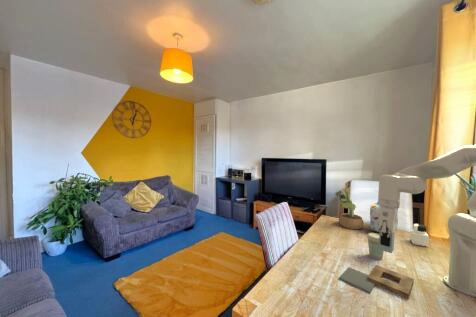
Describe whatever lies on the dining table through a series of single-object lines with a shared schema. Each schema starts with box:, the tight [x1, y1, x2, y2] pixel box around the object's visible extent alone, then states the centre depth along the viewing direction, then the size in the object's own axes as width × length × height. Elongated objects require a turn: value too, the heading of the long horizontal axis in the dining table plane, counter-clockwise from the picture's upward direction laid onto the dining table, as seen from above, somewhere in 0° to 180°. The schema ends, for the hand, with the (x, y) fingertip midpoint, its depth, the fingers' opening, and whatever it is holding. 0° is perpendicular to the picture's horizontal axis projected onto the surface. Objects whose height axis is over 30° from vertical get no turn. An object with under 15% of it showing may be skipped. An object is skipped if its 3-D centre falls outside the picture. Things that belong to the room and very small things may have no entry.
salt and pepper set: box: [410, 223, 430, 248], centre depth 123 cm, size 7×7×12 cm
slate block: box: [378, 231, 395, 254], centre depth 86 cm, size 4×4×8 cm
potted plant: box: [334, 188, 365, 230], centre depth 150 cm, size 22×18×30 cm
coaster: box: [338, 266, 376, 294], centre depth 88 cm, size 12×12×1 cm
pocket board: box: [367, 264, 415, 300], centre depth 86 cm, size 14×14×2 cm
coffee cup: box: [366, 232, 385, 261], centre depth 107 cm, size 8×9×12 cm
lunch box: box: [369, 201, 399, 233], centre depth 143 cm, size 28×10×22 cm, turn 122°
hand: (386, 243), depth 86 cm, fingers closed on slate block, 4 cm apart
